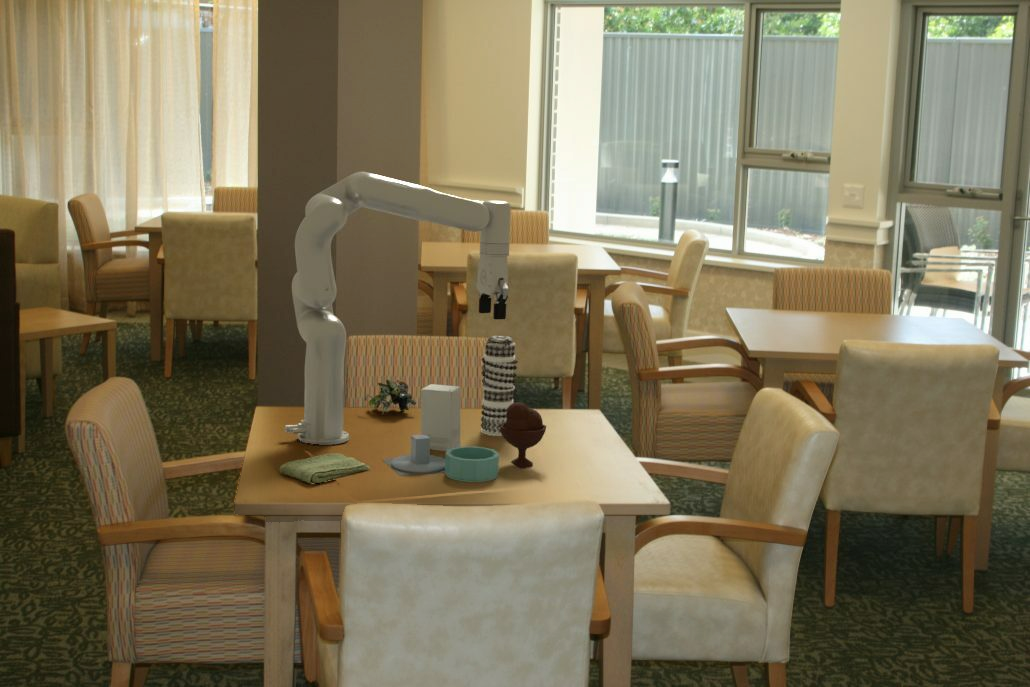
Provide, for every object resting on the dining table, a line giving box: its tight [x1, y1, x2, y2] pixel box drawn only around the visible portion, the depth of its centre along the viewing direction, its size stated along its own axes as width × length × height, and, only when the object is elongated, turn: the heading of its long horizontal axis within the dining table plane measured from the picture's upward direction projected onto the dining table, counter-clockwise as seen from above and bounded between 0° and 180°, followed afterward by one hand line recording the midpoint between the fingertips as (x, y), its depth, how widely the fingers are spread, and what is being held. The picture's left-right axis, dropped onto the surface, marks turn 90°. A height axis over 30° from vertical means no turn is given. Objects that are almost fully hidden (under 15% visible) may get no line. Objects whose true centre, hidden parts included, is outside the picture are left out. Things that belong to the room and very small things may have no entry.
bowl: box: [444, 445, 500, 483], centre depth 287 cm, size 12×12×6 cm
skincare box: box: [420, 383, 461, 452], centre depth 308 cm, size 8×7×16 cm
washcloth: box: [279, 452, 371, 484], centre depth 286 cm, size 13×18×3 cm
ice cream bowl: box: [500, 401, 547, 469], centre depth 297 cm, size 11×11×15 cm
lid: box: [392, 434, 445, 474], centre depth 292 cm, size 13×13×7 cm
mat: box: [381, 454, 446, 477], centre depth 293 cm, size 14×14×1 cm
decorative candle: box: [480, 335, 518, 437], centre depth 326 cm, size 9×9×25 cm
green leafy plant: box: [364, 378, 417, 416], centre depth 343 cm, size 11×11×12 cm
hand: (491, 316), depth 324 cm, fingers open, 9 cm apart
